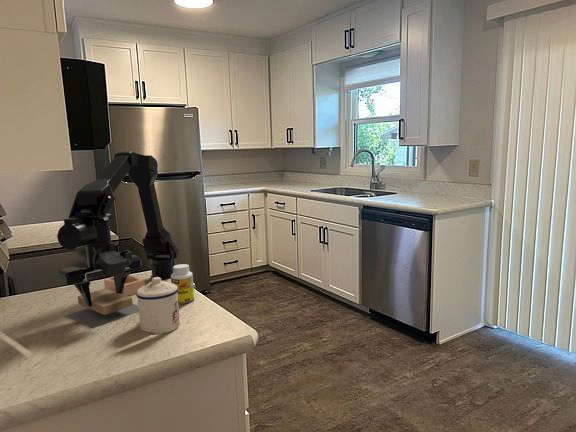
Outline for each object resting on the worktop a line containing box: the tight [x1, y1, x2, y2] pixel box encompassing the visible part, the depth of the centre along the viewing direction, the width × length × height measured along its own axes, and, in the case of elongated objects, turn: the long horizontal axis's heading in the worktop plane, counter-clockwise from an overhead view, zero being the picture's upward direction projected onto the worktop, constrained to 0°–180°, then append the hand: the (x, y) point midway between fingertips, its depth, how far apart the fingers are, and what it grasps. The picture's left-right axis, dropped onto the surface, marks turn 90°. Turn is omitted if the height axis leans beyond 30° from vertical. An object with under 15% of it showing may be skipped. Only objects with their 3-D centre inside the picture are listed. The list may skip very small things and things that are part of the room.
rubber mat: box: [64, 303, 139, 329], centre depth 105 cm, size 14×14×1 cm
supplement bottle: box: [170, 263, 195, 306], centre depth 110 cm, size 6×6×10 cm
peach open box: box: [103, 274, 146, 297], centre depth 121 cm, size 6×11×4 cm, turn 51°
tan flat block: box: [77, 288, 134, 315], centre depth 104 cm, size 7×13×2 cm, turn 51°
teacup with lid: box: [135, 277, 181, 336], centre depth 96 cm, size 12×9×12 cm
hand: (104, 301), depth 104 cm, fingers closed on tan flat block, 7 cm apart
